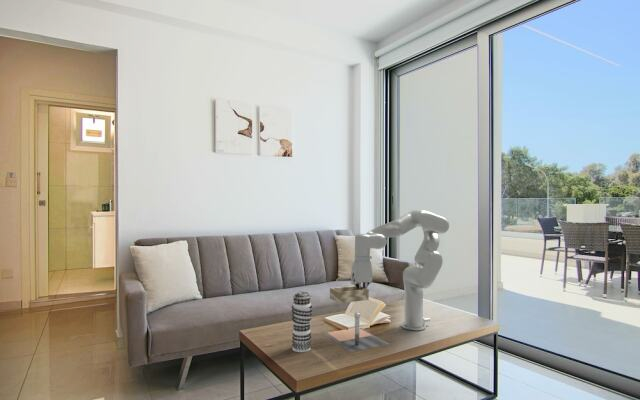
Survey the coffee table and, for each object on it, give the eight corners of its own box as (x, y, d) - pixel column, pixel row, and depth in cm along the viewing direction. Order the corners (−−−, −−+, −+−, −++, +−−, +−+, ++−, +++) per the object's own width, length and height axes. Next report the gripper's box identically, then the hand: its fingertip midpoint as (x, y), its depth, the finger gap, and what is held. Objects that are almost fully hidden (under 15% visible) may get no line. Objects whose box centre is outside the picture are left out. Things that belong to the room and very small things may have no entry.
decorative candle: (300, 343, 181) (301, 289, 181) (316, 348, 175) (316, 292, 175) (287, 348, 174) (287, 293, 174) (302, 354, 168) (302, 296, 168)
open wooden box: (357, 295, 198) (357, 285, 198) (368, 299, 189) (368, 289, 189) (329, 298, 191) (329, 288, 191) (339, 303, 182) (339, 292, 182)
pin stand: (359, 329, 201) (360, 299, 201) (390, 346, 178) (390, 312, 178) (323, 335, 192) (323, 303, 192) (350, 354, 168) (350, 318, 168)
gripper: (371, 257, 200) (370, 292, 200) (344, 258, 193) (344, 295, 193) (379, 259, 193) (379, 296, 193) (352, 261, 186) (352, 299, 186)
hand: (361, 295), depth 193 cm, fingers closed on open wooden box, 1 cm apart
